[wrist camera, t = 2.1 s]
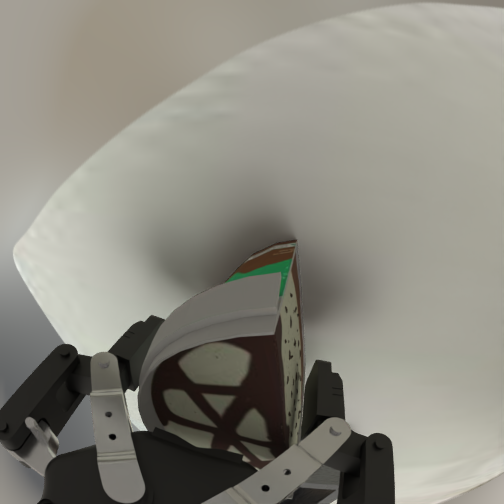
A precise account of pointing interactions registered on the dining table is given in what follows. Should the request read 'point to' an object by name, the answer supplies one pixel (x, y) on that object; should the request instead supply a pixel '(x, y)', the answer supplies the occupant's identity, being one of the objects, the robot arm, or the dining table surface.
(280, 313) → the food container
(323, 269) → the dining table surface
